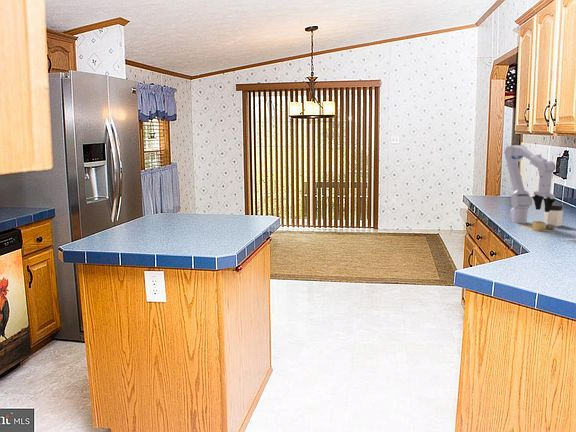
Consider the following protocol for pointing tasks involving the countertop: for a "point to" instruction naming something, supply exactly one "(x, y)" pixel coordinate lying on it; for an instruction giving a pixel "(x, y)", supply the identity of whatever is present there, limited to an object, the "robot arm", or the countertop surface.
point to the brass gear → (538, 225)
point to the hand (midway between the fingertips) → (542, 210)
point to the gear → (550, 227)
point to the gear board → (532, 229)
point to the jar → (554, 215)
